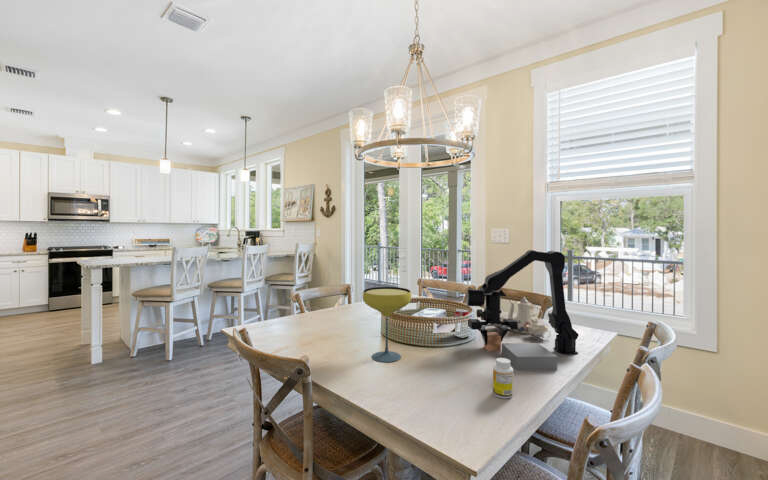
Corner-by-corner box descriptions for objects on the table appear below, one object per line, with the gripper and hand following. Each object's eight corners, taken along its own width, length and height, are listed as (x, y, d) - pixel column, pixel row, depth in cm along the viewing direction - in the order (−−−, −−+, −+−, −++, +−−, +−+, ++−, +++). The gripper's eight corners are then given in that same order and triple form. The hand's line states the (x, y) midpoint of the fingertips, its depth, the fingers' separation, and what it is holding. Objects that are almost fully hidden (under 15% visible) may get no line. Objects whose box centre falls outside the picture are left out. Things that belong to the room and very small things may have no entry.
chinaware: (485, 333, 166) (484, 299, 164) (499, 322, 178) (498, 291, 176) (547, 346, 147) (547, 308, 146) (558, 333, 160) (558, 298, 158)
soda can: (470, 339, 151) (470, 312, 150) (453, 338, 152) (453, 311, 152) (469, 334, 158) (469, 308, 157) (453, 333, 159) (453, 308, 159)
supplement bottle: (497, 388, 105) (497, 355, 105) (515, 394, 101) (516, 359, 101) (489, 395, 101) (490, 360, 100) (508, 401, 97) (509, 365, 97)
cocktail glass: (362, 367, 121) (362, 295, 120) (362, 349, 139) (362, 286, 138) (414, 366, 122) (414, 295, 121) (407, 348, 140) (407, 286, 139)
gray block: (537, 355, 133) (537, 342, 133) (557, 370, 119) (557, 356, 119) (501, 356, 133) (501, 343, 132) (517, 371, 119) (517, 356, 119)
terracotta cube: (496, 346, 142) (496, 332, 142) (500, 351, 137) (501, 336, 137) (484, 346, 142) (484, 332, 142) (488, 351, 137) (488, 336, 137)
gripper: (507, 302, 147) (506, 338, 148) (464, 302, 146) (463, 339, 147) (519, 308, 136) (518, 347, 137) (472, 308, 135) (471, 348, 136)
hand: (492, 345), depth 139 cm, fingers closed on terracotta cube, 5 cm apart
